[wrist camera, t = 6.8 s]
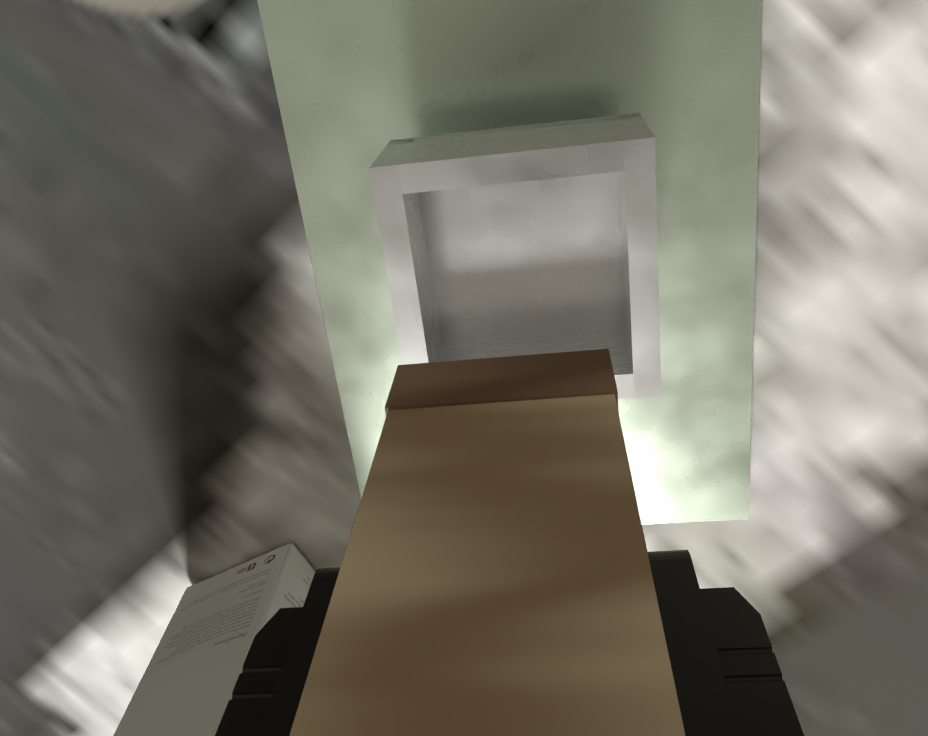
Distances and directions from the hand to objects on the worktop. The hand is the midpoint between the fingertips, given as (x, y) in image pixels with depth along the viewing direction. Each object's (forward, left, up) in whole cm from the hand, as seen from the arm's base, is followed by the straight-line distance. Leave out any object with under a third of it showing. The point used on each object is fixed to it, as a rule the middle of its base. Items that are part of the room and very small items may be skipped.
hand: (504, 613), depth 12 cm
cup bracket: (0, +3, -22) cm, 22 cm away
